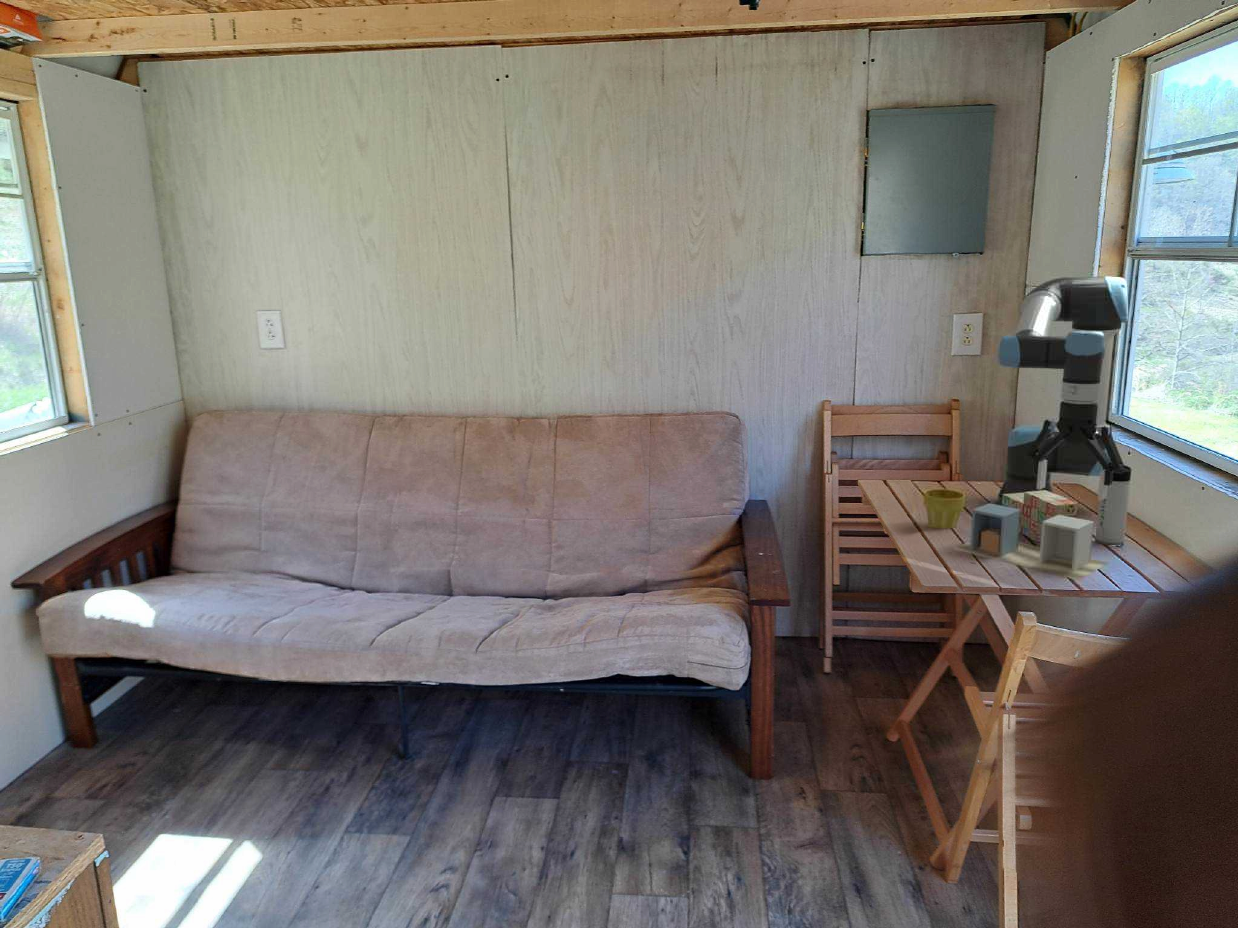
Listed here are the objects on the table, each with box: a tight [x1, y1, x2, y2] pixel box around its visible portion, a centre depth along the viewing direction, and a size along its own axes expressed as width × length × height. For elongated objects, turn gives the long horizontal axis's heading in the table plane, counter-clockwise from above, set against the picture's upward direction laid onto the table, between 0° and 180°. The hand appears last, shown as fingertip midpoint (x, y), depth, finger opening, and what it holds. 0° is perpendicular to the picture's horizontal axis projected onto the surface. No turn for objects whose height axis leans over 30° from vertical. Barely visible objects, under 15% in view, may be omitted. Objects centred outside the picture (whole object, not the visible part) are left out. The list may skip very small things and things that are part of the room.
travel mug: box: [1094, 465, 1132, 547], centre depth 218 cm, size 6×7×20 cm
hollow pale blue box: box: [970, 502, 1021, 557], centre depth 214 cm, size 8×8×10 cm
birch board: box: [952, 540, 1109, 581], centre depth 210 cm, size 16×30×1 cm, turn 40°
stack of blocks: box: [1002, 490, 1079, 544], centre depth 224 cm, size 21×6×12 cm, turn 10°
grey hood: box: [1039, 515, 1094, 571], centre depth 203 cm, size 8×8×10 cm
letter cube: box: [981, 528, 1001, 553], centre depth 215 cm, size 4×4×5 cm
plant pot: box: [923, 488, 966, 530], centre depth 234 cm, size 10×10×10 cm
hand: (1070, 493), depth 200 cm, fingers open, 13 cm apart
